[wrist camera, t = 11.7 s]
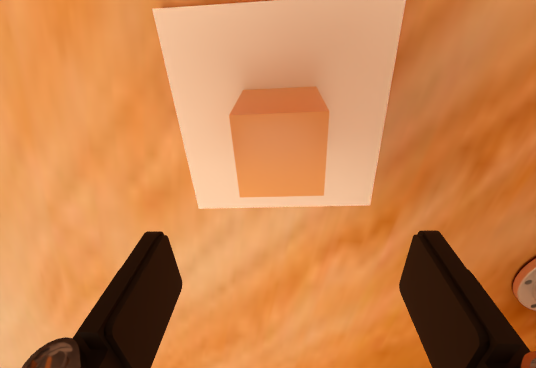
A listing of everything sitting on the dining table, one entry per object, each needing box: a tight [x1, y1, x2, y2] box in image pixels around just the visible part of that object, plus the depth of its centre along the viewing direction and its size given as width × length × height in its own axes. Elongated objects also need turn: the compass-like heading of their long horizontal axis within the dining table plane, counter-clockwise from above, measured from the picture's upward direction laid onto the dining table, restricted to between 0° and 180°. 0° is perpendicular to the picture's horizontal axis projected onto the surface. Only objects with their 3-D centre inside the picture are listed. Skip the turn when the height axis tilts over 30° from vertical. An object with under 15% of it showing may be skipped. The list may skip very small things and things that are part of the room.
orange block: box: [229, 86, 329, 197], centre depth 21 cm, size 6×6×7 cm
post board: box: [152, 0, 406, 209], centre depth 23 cm, size 18×18×6 cm
